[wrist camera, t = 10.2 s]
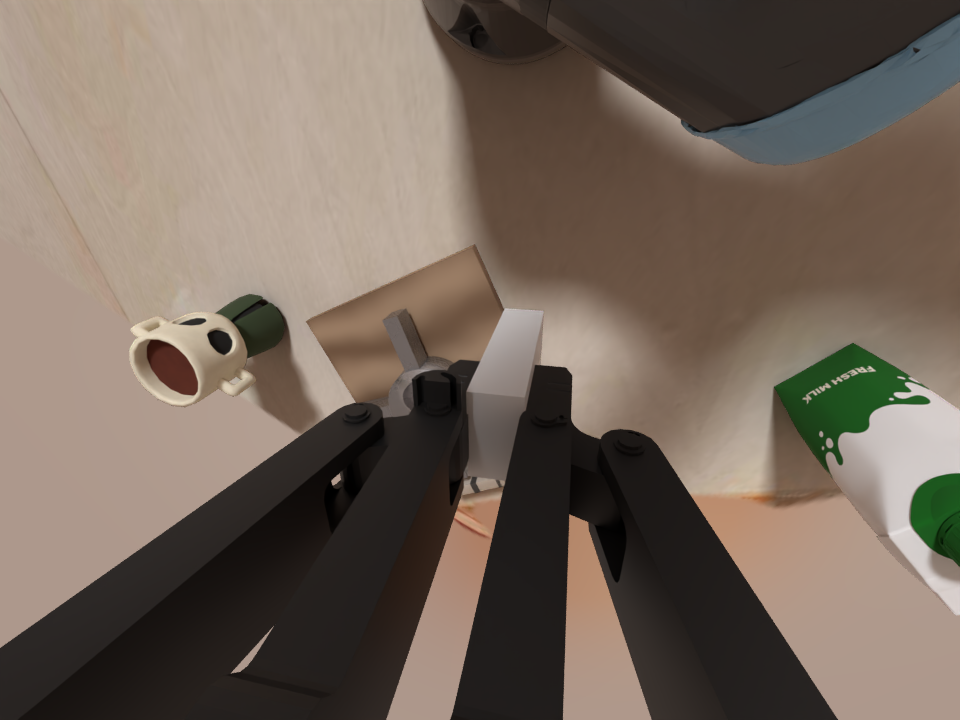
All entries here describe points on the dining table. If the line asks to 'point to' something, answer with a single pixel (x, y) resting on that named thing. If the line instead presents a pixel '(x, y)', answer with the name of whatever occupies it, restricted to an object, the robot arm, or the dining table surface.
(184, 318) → the character mug
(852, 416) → the milk carton
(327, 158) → the dining table surface
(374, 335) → the wooden mounting board
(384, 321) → the four-spoke handwheel
